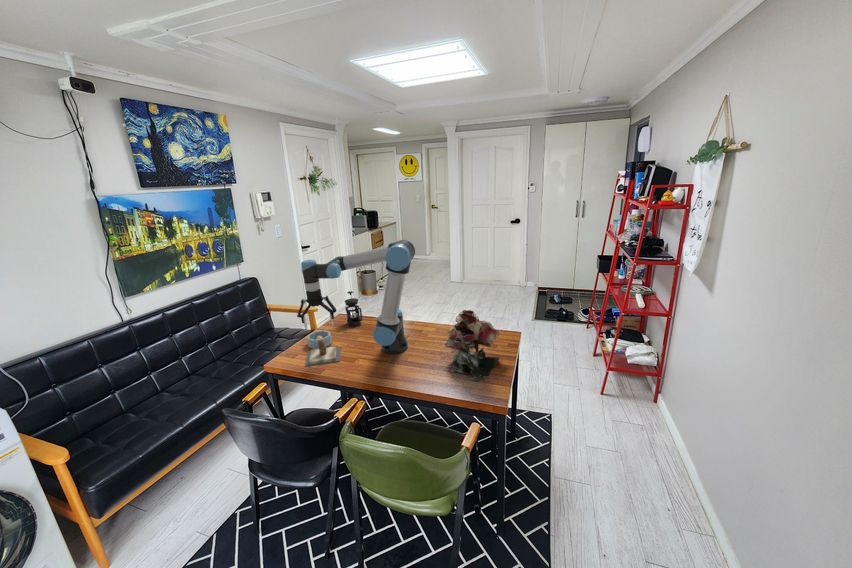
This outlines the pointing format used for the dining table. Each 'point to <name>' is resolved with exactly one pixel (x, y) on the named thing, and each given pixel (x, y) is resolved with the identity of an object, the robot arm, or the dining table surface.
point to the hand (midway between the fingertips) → (319, 326)
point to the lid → (322, 353)
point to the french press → (353, 316)
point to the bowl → (318, 338)
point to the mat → (323, 362)
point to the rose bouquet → (472, 345)
